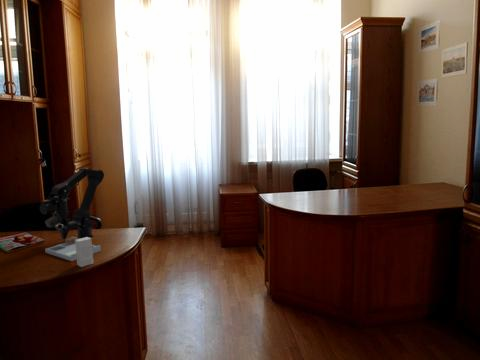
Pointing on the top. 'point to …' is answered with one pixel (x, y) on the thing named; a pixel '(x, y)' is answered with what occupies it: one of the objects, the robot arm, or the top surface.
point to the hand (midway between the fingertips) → (64, 239)
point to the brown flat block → (70, 240)
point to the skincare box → (84, 251)
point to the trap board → (67, 251)
